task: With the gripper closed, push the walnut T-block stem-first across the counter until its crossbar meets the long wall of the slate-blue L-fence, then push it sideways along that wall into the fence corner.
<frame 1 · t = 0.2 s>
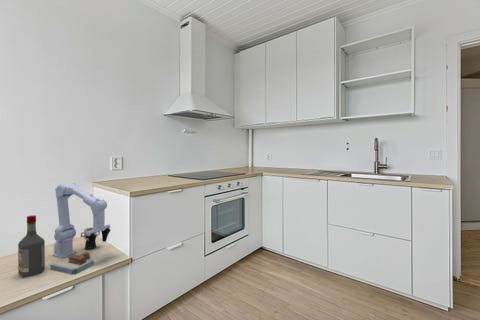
hand: (98, 243, 136), 10 cm above the counter, fingers open, 7 cm apart
slate fence: (74, 272, 122), on the counter
character mug: (90, 248, 152), on the counter
liquor: (31, 272, 121), on the counter
walnut tee: (81, 260, 135), on the counter
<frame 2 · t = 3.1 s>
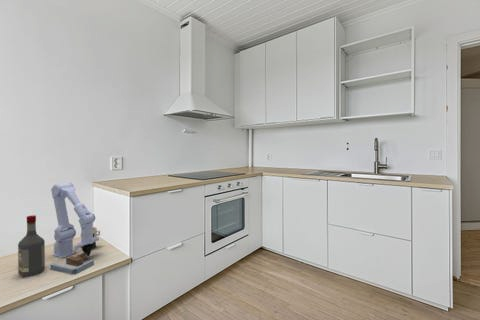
hand: (87, 256, 138), 1 cm above the counter, fingers closed
walnut tee: (78, 262, 133), on the counter, touching gripper
everything else where it was.
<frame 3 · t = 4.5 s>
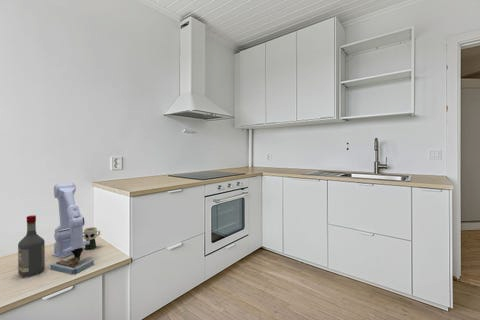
hand: (77, 261, 132), 1 cm above the counter, fingers closed, pressing on walnut tee
walnut tee: (69, 266, 128), on the counter, touching gripper, slate fence
everything else where it was.
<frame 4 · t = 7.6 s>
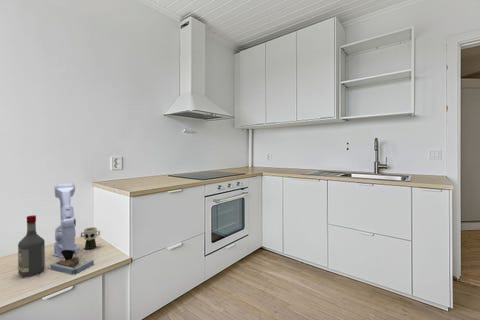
hand: (68, 262, 130), 1 cm above the counter, fingers closed
walnut tee: (69, 266, 128), on the counter, touching gripper
everything else where it was.
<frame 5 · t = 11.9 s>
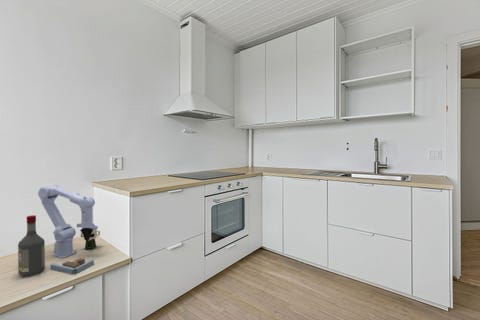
hand: (87, 239, 141), 10 cm above the counter, fingers closed
walnut tee: (75, 267, 127), on the counter
everything else where it was.
at the end: walnut tee 1.0 cm from the target spot on the slate fence, point 0.0 cm above the slate fence's base; walnut tee tilted 1° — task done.
